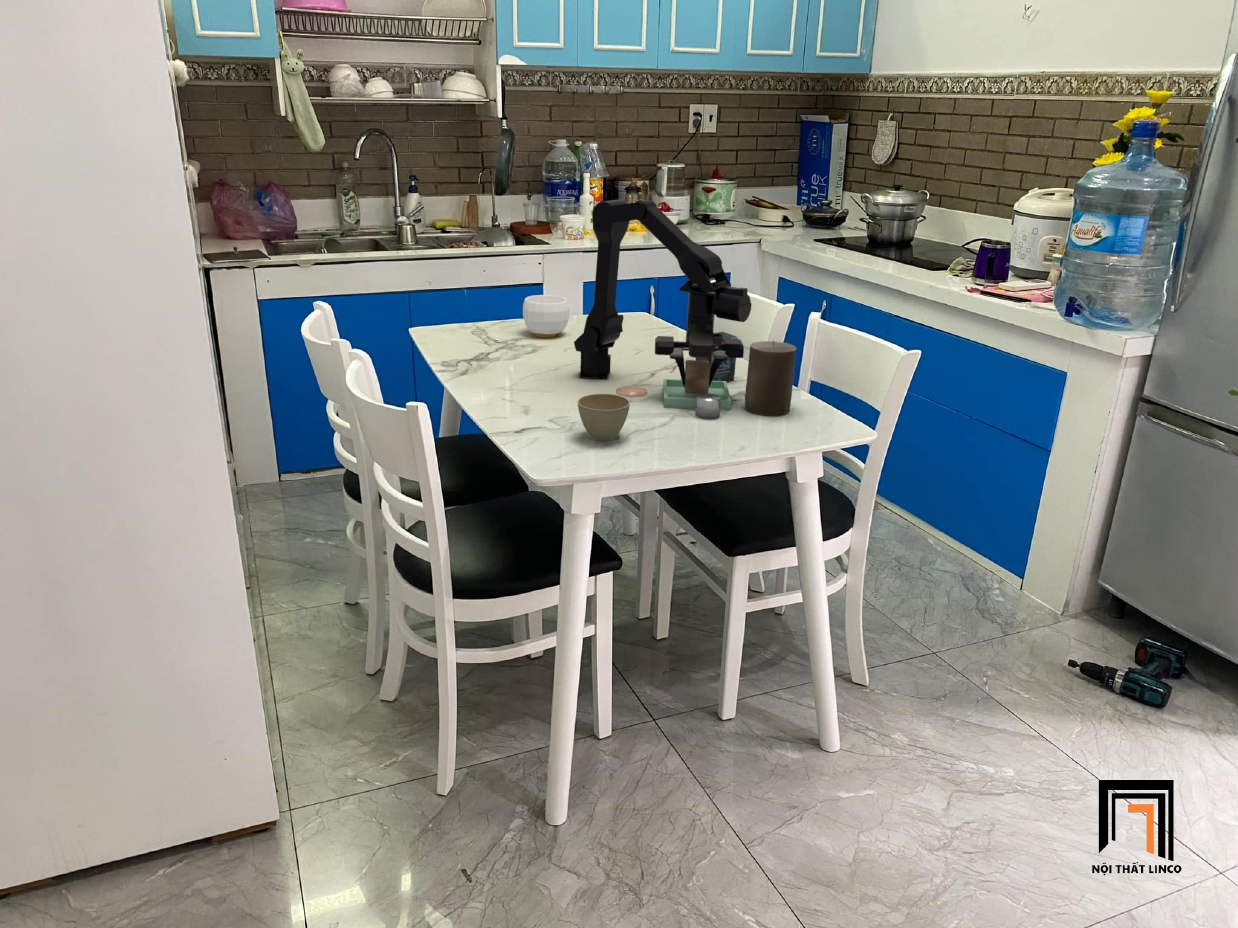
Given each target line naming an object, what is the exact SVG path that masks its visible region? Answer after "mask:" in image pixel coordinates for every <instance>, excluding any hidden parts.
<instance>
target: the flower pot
mask: <svg viewBox="0 0 1238 928" xmlns="http://www.w3.org/2000/svg"><path fill="white" fill-rule="evenodd" d="M576 403H577V409H578V413H579V416H580V420H581V422H582V425H583V426H584V429H585V431H586V432H587V434H588V436H589V437H590V439H592V440H595V441H600V442H601V441H602V442H606V441H612V440H615V439H616V438H617V437H618V435H619V434H620V432H621V431H622V429H623V427H624V425H625V423H626V421H627V419H628V415H629V411H630V406H631V401H630V399H629V398H628V397H625V396H621V395H618V394H614V393H599V392H598V393H590V394H587V395H586V394H585V395H583V396H581V397H579V398H578V399H577V402H576Z"/></svg>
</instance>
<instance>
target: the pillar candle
mask: <svg viewBox="0 0 1238 928" xmlns="http://www.w3.org/2000/svg"><path fill="white" fill-rule="evenodd" d="M796 357H797V347H796V346H795V345H794V344H790V343H788V342H783V341H775V340H774V339H773V340H772V341H769V340H767V341H766V340H765V341H764V340H763V341H762V340H761V341H755V342H751V343H750V345H749V355H748V364H747V365H748V366H747V374H746V377H747V378H746V384H745V395H744V409H745V410H746V411H749V412H751V413H752V414H756V415H760V416H775V417H779V416H784V415H787V414H789V413H790V412H791V406H792V405H791V403H792V394H793V386H794V377H795V368H796V366H795V365H796Z"/></svg>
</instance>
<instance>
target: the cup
mask: <svg viewBox="0 0 1238 928" xmlns="http://www.w3.org/2000/svg"><path fill="white" fill-rule="evenodd" d="M523 301H524V302H523V305H522V317H523V321H524V324H525V326H526V328H527V330H528V331H529V332H531V333H534V334H535V337H539V338H554V337H556V336H557V334H560V333H562V332H564V330H565V329H566V327H567V325H568V322H569V319H570V307H569V302H568V299H567V298H566V297H563V296H560V295H553V294H551V295H550V294H537V295H529V296H527V297H525V298H524V300H523Z"/></svg>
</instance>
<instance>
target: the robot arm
mask: <svg viewBox="0 0 1238 928" xmlns="http://www.w3.org/2000/svg"><path fill="white" fill-rule="evenodd" d="M591 212H592V213H591V216H592V219H591V221H592V230H593V232H594V235H595V237H596V240H597V254H596V255H597V256H596V267H595V269H596V270H595V281H594V282H595V283H594V294H593V306H592V308H591V309H590V311H589V313H588V315H587V316H586V319H585V323H584V329H583V332H582V333H581V334H580V335H579V336H578V337H577V339H575V340H574V342H573V344H574V350H575V351H576V352H580V368H579V369H580V370H579V372H580V373H579V378H580V379H581V378H582V379H600V380H601V379H605V380H606V379H608V378H609V375H610V374H611V363H612V362H611V361H612V360H611V358H612V357H611V356H612V355H611V354H609V349H610V348H614V346H615V343H616V341H617V340H618V339H619V338H620V336H621V333H624V329H623V321H624V315H623V314H619V312H618V310H617V308H616V302H617V301H616V300H617V299H616V298H617V287H618V285H617V284H618V276H619V275H618V274H619V266H620V265H619V262H620V254H621V244H622V241H623V239H624V237H625V236H626V233H627V232H628V229H629V227H630V226H629V225H630V221H638V222H639V223H640V224H641V225H642V226H643V227H644V228H645V229H647V230H648V232H650V233H651V234H652V235H653V236H654V238H656V239H657V240H658V241H659V242H660V243H661V244H662V245H663V246H664V247H665V248H666V249H667V250H668V251H669V252H670V253H671V254H672V255H673V256H674V257H675V259H676V261H677V264H678V266H679V269H680V271H682V273H683V274H684V275H685V277H686V278H687V280H686V282H685V283H684V284H683V285H681V286H680V287H679V289H678V290H679V291H680V292H685V293H688V299H687V301H688V302H687V316H686V333H685V341H679V340H677V341H676V340H675V339H674V336H667V335H666V336H665V335H664V336H663V335H657V336H656V338H655V340H654V355H657V356H669V358H670V360H674V361H675V363H676V365H677V367H678V371H679V375H680V377H681V378H680V380H682V383H683V385H684V386H685V358H684V351H687V352H688V356H689V357H691V358H696V357H705V358H710V357H712V358H711V363H710V376H709V386H710V385H711V382H712V380H713V377H714V375H715V373H716V370H717V369H718V367H719V365H720V364H721V363H722V362H723V361H727V360H728V358H727V356H728V357H729V358H736V359H743V358H744V354H745V353H744V351H745V347H744V343H743V341H742V340H741V339H740V338H738V339H724V342H723V343H722V339H723V336H722V334H714V333H715V332H714V326H715V316H716V318H718V319H723V320H728V321H734V322H739V323H745V322H746V321H748V319H749V317H750V313H751V311H752V302H751V297H750V295H749V294H748V293H749V292H748V291H749V290H748V288H747V287H735V286H732V283H731V281H730V279H729V277H728V276H727V273H726V272H725V270H724V269H723V268H724V267H723V261H722V259H721V257H720V256H719V255H717V254H716V253H715V252H714V251H712V250H711V249H709V248H708V247H706V246H704V245H701V244H698V243H697V242H695V241H694V240H692V239H691V238H690V237H689V236H687V235H686V233H684V232H683V231H682V229H681V228H679V227H678V225H676V223H674V222H673V221H672V220H671V219H670V218H669V217H668V216H667V215H666V214H665V213H664V212H663V211H662V210H661V209H660V208H659V207H658V206H657V204H656V203H655V201H652V200H650V199H643V200H637V201H635V202H630V203H626V202H625V201H624V200H622V199H614V200H613V199H612V200H606V201H604V200H603V201H600V202H598V203H597V204H596V205H595V206H593V209H592V211H591ZM711 281H712V282H711Z"/></svg>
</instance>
